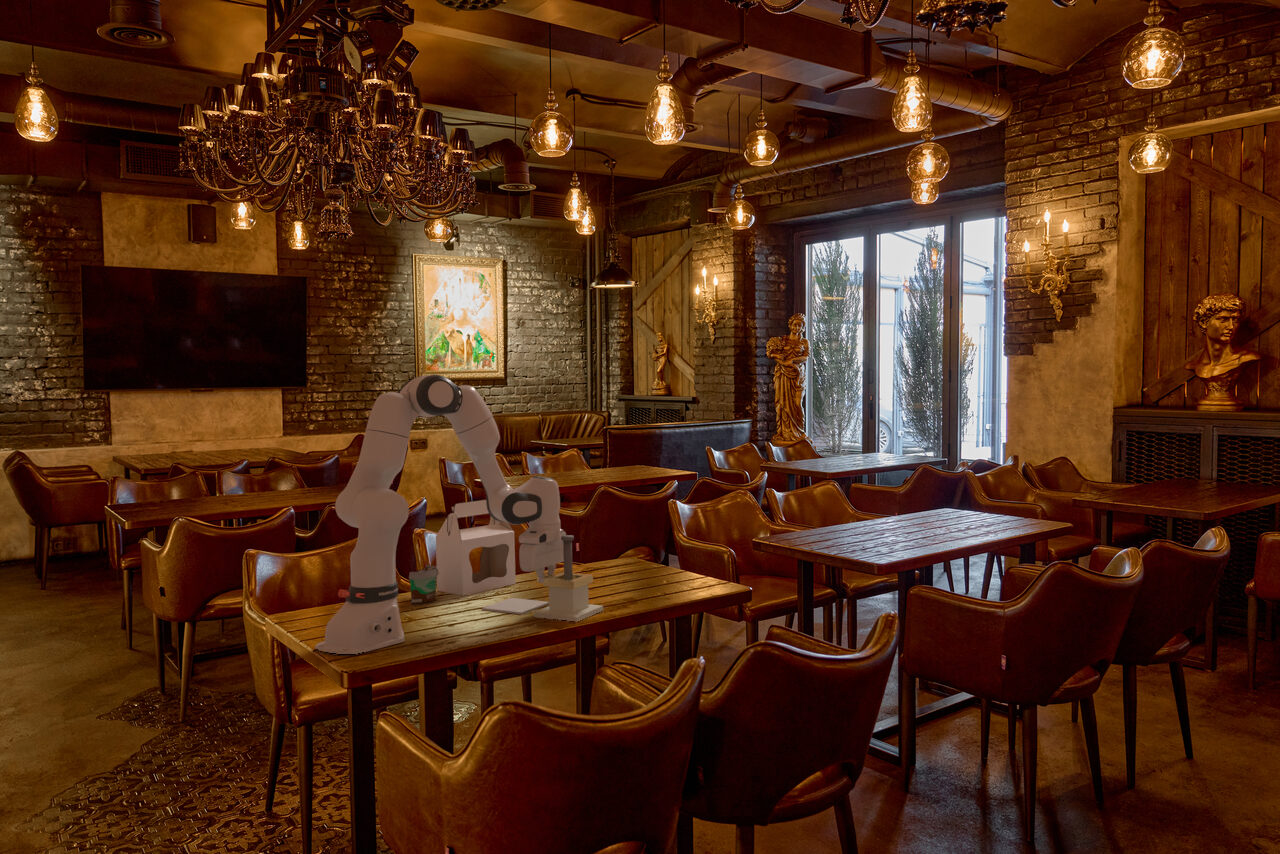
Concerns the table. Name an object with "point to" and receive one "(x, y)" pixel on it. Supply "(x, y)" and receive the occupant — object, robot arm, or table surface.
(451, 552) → the gable box
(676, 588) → the table surface
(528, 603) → the mat
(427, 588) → the food container
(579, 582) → the ring
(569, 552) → the stand
